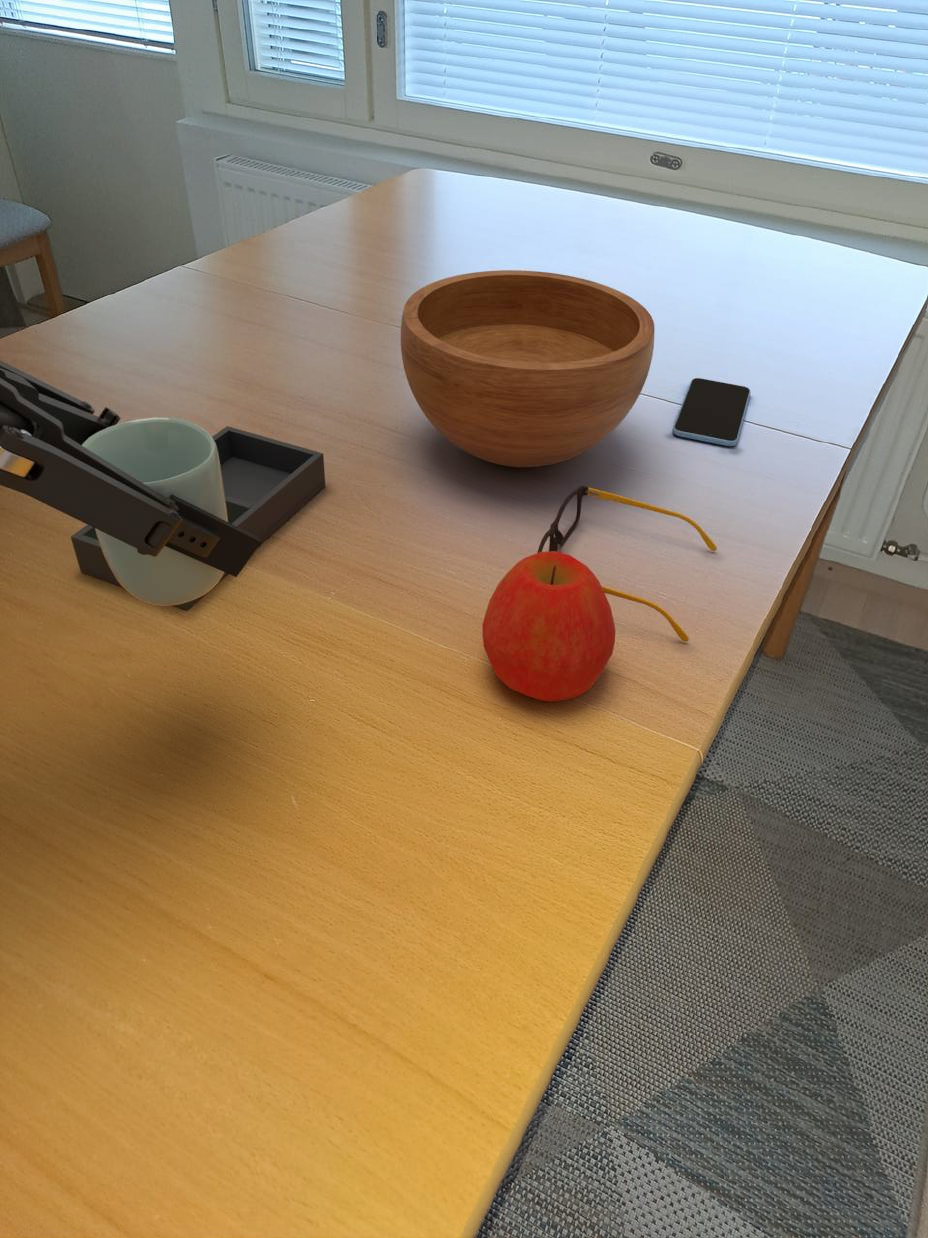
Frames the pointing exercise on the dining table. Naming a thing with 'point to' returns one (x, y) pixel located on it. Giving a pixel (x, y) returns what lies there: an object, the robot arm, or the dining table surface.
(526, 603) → the apple
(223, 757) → the dining table surface
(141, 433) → the cup
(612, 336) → the bowl
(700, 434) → the smartphone
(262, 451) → the holder
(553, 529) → the eyeglasses
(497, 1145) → the dining table surface
